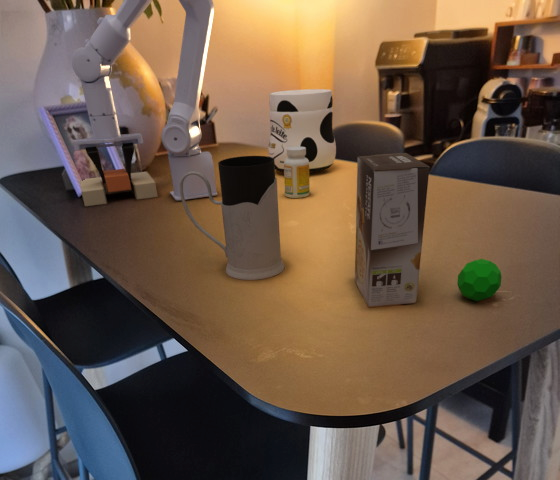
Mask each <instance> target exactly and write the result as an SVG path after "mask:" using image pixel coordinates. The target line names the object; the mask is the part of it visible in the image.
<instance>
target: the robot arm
mask: <svg viewBox="0 0 560 480" xmlns="http://www.w3.org/2000/svg"><path fill="white" fill-rule="evenodd" d="M153 1H154V0H123V1H122V3H121V5H120V6H119V8H118V10H117V11H116V13H115V14H105V15H104V17H101V16H100V17H99V18H98V19H97V21H96V24H97V25H98V26H97V27H96V28H95V31H93V33H92V35H91V36H90V37H89V38H86V39H85V40H84V42H83V44H84V45H85V46H84V47H79V48H76V49H75V50H74V53H73V55H72V58H71V67H72V70H73V72H74V74H75V75H76V76H77V78H79V79H80V84H81V88H82V92H83V98H84V101H85V107H86V111H87V115H88V118H89V124H90V127H91V131H92V136H93V137H85V138H79V139H73V140H72V144H73V147H74V151H76V152H79V151H82V150H85V152H86V154H87V157H88V158H89V159H90V160H91V162H92V163H93V165H94V166H95V169H96V170H97V172H98V174H99V177H101V178H102V182H103V184H104V183H106V181H105V176H104V173H103V171H104V170H103V167H102V161H101V157H100V153H99V149H101V148H110V147H118V146H119V147H120V146H121V147H120V148H121V152H122V156H123V161H124V168H125V170H126V172H127V174H128V176H129V180H131V173H132V163H133V158H134V153H135V146H134V145H143V144H144V140H143V136H142V134H141V133H125V134H121V130H120V125H119V120H118V116H117V110H116V105H115V101H114V100H115V99H114V96H113V90H112V86H111V81H110V77H111V75H112V70H113V65H114V63H116V61H117V60H118V58H119V57H120V56H121V54H122V53H123V51H125V48H126V47H127V46H128V44H129V43H130V42H131V40H132V35H131V28H132V27H133V26H134V24H135V23H136V22H137V21H138V19H139V18H140V17H141V16H142V15H143V13H144V12H145V11H146V9H147V8H148V7H149V6H150V4H151V3H152V2H153ZM178 2H179V4H180V5H181V6H182V8H183V10H184V11H185V18H184V26H183V33H182V41H181V46H180V54H179V62H178V70H177V76H176V83H175V91H174V98H173V103H172V105H171V108H170V111H169V113H168V118H167V123H166V124H165V126H163V129H162V131H161V142H162V145H163V148H164V149H165V150H166V151H167V157H168V158H167V159H168V164H169V170H170V171H169V172H170V175H171V183H172V191H169V195H171V197H172V198H173V199H174V201H176V202H179V201H180V202H181V201H182V199H181V194H180V182H181V179H182V177H183V176H184V175H185V174H187V173H189V172H199V173H201V174H203V175H204V176H205V177H206V178H207V179H208V181H209V183H210V186H211V191H212V197H215V196H218V195H219V194H218V191H217V190H218V189H217V183H216V182H217V181H216V174H215V173H216V172H215V165H214V160H213V156H212V154H211V152H210V151H202V149H201V147H200V146H199V144H200V142H201V139H202V130H201V125H200V121H201V112H200V108H199V106H200V99H201V94H202V89H203V83H204V77H205V76H204V75H205V71H206V70H205V69H206V64H207V56H208V51H209V44H210V38H211V32H212V26H213V19H214V14H215V5H214V2H213V0H178ZM183 192H184V197H185V201H186V200H193V199H194V200H195V199H200V198H209V194H208V189H207V186H206V183H205V182H204V180H203V179H202V178H201V177H199V176H198V175H189V176H187V177H186V178H185V179H184V182H183Z"/></svg>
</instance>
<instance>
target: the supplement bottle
mask: <svg viewBox="0 0 560 480" xmlns="http://www.w3.org/2000/svg"><path fill="white" fill-rule="evenodd" d="M305 155H306V148H305V147H300V146H297V147H289V148H287V156H288V158H287V159H286V160H285V161H284V172H283V180H284V196H285V197H287V198H289V199H301V198H306V197H308V196H309V195H310V173H309V160H308V159H307V158H305Z"/></svg>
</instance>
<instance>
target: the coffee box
mask: <svg viewBox="0 0 560 480" xmlns="http://www.w3.org/2000/svg"><path fill="white" fill-rule="evenodd" d="M356 160H357V161H356V162H357V164H356V165H357V167H356V168H357V169H356V170H357V171H356V173H357V174H356V209H355V210H356V211H355V252H354V253H355V254H354V257H355V258H354V282H355V284H356V286H357V288H358V290H359V292H360V294H361V296H362V298H363V299H364V301H365V303H366V305H367V306H368V307H370V308H371V307H373V308H374V307H382V306H394V305H409V304H415V303H416V302H417V299H418V290H419V289H418V288H419V279H420V270H421V269H420V268H421V259H422V248H423V240H424V239H423V237H424V227H425V218H426V206H427V199H428V198H427V197H428V189H429V177H430V168H431V167H430V166H429V165H428V164H426V163H424V162H422V161H421V160H419V159H417V158H416V157H415V156H412V155H411V154H409V153H407V152H395V153H381V154H380V153H379V154H373V155H363V156H361V155H360V156H357V159H356Z"/></svg>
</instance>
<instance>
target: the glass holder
mask: <svg viewBox="0 0 560 480" xmlns="http://www.w3.org/2000/svg"><path fill="white" fill-rule="evenodd" d="M217 164H218V174H219V184H220V192H221V201H219V200H215V198H214V196H212V191H211V186H210V183H209V181H208V179H207V178H206V177H205V176H204V175H203V174H201V173H199V172H189V173H187V174H185V175H184V176H183V177H182V179H181V182H180V194H181V199H182V200H181V204H182V206H183V208H184V211H185V213H186V215H187V216H188V218H189V220H190V221H191V222H192V224H193V225H194V227H195V228H196V229H197V230H198V231H200V232H201V233H202V234H203V235H204V236H206V238H208V239H209V240H211V241H212V242H213V243H214V244H216V245H217V246H219V248H221V249H222V250H223V251H224V254H225V258H226V259H227V263H226V264H227V265H226V267H225V273H226V275H228V276H229V277H231V278H232V279H233V278H234V279H236V280H237V279H238V280H244V281H256V280H264V279H268V278H269V279H270V278H272V277H275V276H277V275H279V274H281V273H282V272H284V270H285V264H284V262H283V260H282V253H281V251H282V250H281V234H280V213H279V195H278V179H277V177H276V169H275V161H274V158H272V157H269V155H268V156H266V155H241V156H235V157H228V158H225V159H222V160H219V161H218V162H217ZM189 175H198V176H199V177H201V178H202V179H203V180H204V182H205V183H206V186H207V189H208V194H209V197H208V198H209V200H210V202H211V203H212V204H214V205H219V206H221V213H222V223H223V231H224V232H223V233H224V240H225V245H224V243H222V242H221V241H220V240H218V239H217V238H215V236H213V235H212V234H210V233H209V232H208V231H206V229H204V228H203V227H202V226H201V225H200V223H198V221H197V220H196V219H195V218H194V216H193V214H192V212H191V211H190V209H189V206H188V203H187V202H186V200H185V197H184V192H183V182H184V179H185V178H186V177H187V176H189Z"/></svg>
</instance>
